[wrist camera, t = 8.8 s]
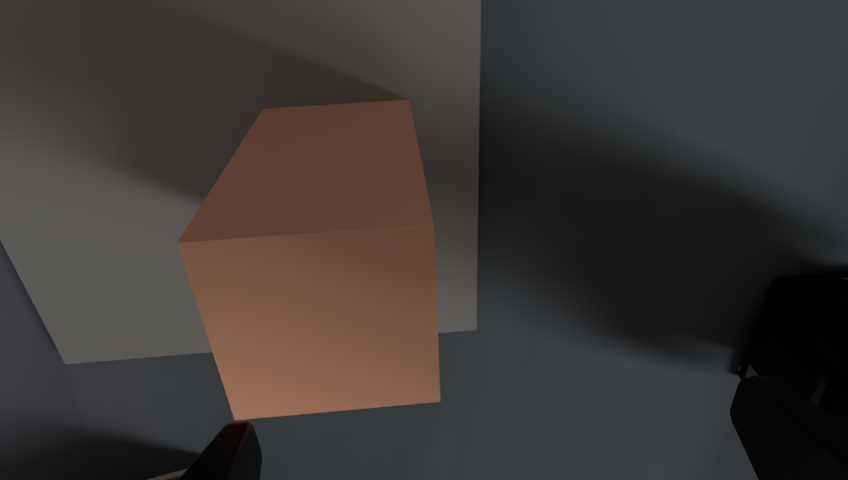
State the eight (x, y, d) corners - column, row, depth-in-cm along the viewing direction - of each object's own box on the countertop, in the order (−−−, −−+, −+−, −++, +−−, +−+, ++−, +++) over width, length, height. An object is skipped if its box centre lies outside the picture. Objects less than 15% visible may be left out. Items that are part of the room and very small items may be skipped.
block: (409, 99, 18) (434, 223, 10) (416, 226, 21) (440, 401, 13) (263, 108, 18) (177, 243, 10) (288, 235, 20) (234, 420, 13)
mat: (478, -89, 16) (481, -90, 15) (474, 321, 24) (476, 330, 24) (-140, -61, 15) (-158, -60, 15) (72, 354, 23) (65, 364, 23)
